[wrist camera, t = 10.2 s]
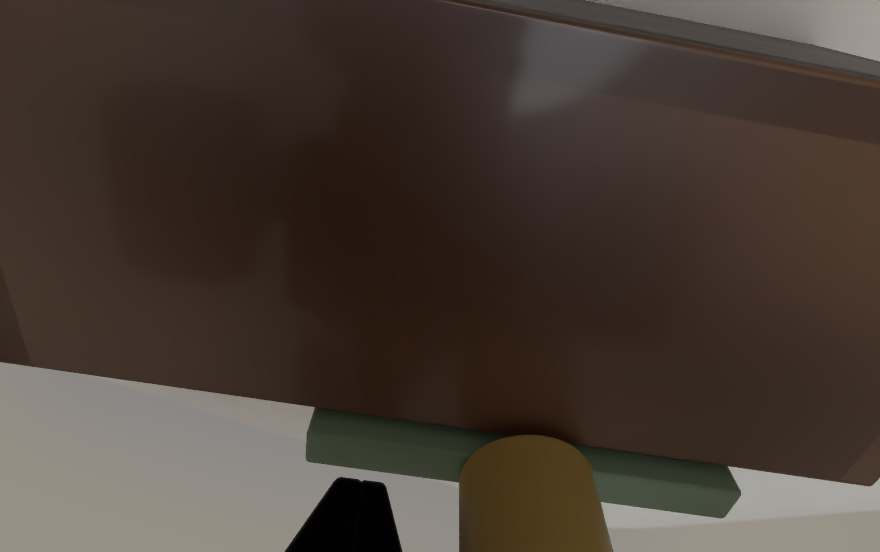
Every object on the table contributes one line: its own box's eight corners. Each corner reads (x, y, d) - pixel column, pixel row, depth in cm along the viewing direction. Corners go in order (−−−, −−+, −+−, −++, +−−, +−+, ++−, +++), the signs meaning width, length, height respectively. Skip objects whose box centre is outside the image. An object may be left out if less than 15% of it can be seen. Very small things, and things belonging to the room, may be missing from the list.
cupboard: (686, 304, 17) (834, 529, 11) (194, 224, 16) (7, 416, 10) (816, 45, 13) (1194, 139, 6) (170, -81, 12) (-192, -127, 5)
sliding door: (615, 327, 17) (805, 779, 7) (362, 287, 16) (236, 719, 7) (643, 261, 15) (912, 709, 6) (370, 216, 15) (229, 629, 6)
